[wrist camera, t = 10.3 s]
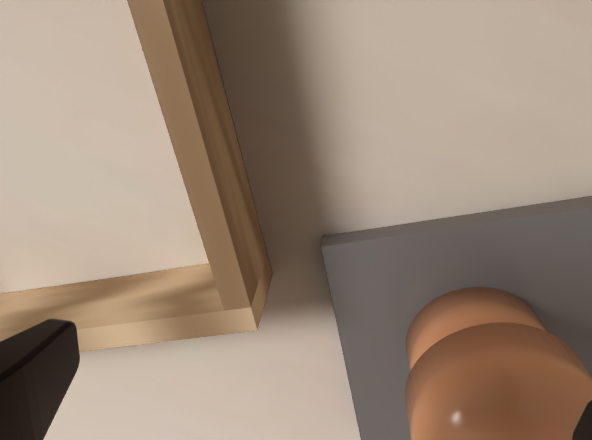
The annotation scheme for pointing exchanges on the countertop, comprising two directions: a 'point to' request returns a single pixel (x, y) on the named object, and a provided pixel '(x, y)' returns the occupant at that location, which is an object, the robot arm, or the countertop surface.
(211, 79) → the open wooden tray
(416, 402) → the peach door knob
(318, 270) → the countertop surface
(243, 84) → the countertop surface
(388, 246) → the slate tile
